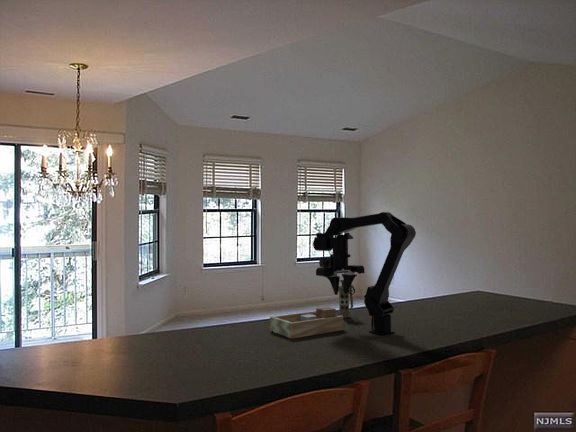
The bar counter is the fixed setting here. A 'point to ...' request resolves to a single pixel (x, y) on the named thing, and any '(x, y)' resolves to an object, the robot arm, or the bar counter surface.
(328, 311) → the walnut block
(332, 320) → the box
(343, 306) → the grenade model
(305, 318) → the trapped block
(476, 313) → the bar counter surface
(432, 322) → the bar counter surface
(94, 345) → the bar counter surface
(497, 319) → the bar counter surface
